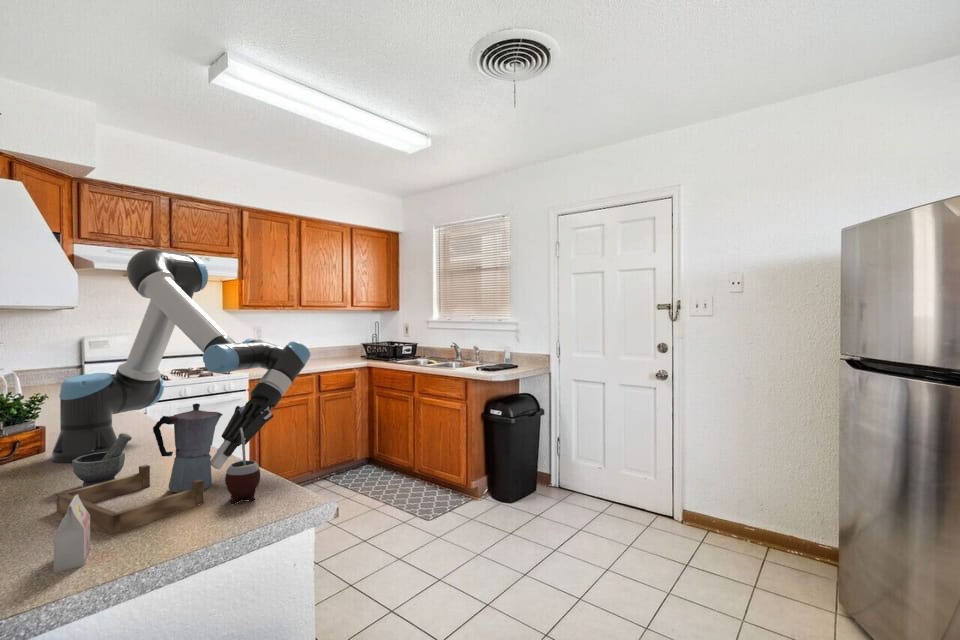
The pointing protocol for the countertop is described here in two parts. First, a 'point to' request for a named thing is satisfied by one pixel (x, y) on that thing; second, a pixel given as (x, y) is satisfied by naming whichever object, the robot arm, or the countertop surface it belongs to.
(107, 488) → the bay
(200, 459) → the moka pot
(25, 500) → the countertop surface
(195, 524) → the countertop surface
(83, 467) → the mortar and pestle
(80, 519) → the white paper packet
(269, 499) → the countertop surface
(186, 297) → the robot arm
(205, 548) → the countertop surface
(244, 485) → the mate gourd
